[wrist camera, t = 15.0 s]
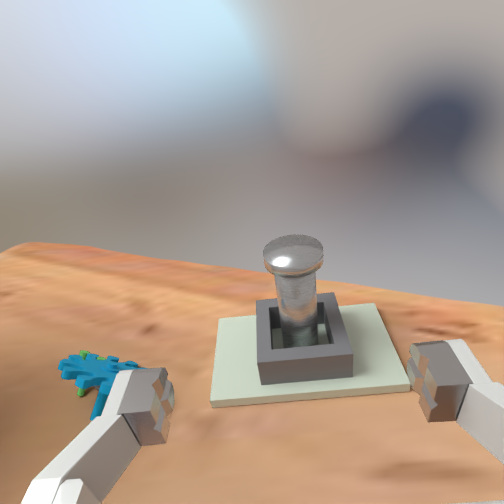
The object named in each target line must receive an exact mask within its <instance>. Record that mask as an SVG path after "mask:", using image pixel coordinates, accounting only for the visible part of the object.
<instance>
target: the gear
mask: <svg viewBox="0 0 504 504" xmlns="http://www.w3.org/2000/svg"><path fill="white" fill-rule="evenodd" d="M118 361H119V358H117V357H113V356H108V358H107V359H106V358H103V357H99V355H96V354H90V352H88V351H84V350H82V351H80V354H79V355H69V358H68V359H63V360H61V361H60V363H59V366H58V370H61V371H63V372H62V375H61V377H62V379H66V380H71V379H76V382H75V385H76V386H77V387H79V389H78V392H77V395H78V396H84V393H85V390H86V389H87V388H89V387H91V386H93V387H95V388H96V389H97V390H98V391H99V393H98V396H97V399H96V402H95V405H94V408H93V411H92V415H91V418H90V420H91V421H93V420H94V419H95V418H96V417H98V416H101V415H102V412H103V409H104V407H105V404H106V401H107V398H108V395H109V393H110V391H111V388H112V386H113V383H114V380H115V378H116V375H117V374H118V373H119V371H123V370H134V369H149V368H137V366H138V364H137V363H135V362H133V361H127V362H123V363H118Z"/></svg>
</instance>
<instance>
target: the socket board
mask: <svg viewBox="0 0 504 504" xmlns="http://www.w3.org/2000/svg"><path fill="white" fill-rule="evenodd" d="M316 295H317V316H318V337H319V345H315V346H304V347H294V348H284V347H283V339H282V331H281V323H280V315H279V307H278V299H277V298H275V299H266V300H256V315H250V316H240V317H230V318H221V319H219V325H218V334H217V343H216V352H215V360H214V369H213V378H212V387H211V396H210V403H211V406H212V408H216V407H228V406H240V405H252V404H264V403H276V402H288V401H300V400H312V399H324V398H335V397H347V396H359V395H371V394H383V393H395V392H407V391H410V386H411V384H410V382H409V379H408V376H407V374H406V372H405V370H404V367H403V365H402V363H401V361H400V359H399V356H398V354H397V352H396V350H395V348H394V345H393V343H392V341H391V339H390V337H389V334H388V332H387V330H386V328H385V326H384V323H383V321H382V319H381V317H380V315H379V312H378V310H377V308H376V306H375V303H367V304H357V305H347V306H338V304H337V301H336V297H335V294H334V292H332V293H323V294H316Z"/></svg>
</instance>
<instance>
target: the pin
mask: <svg viewBox="0 0 504 504" xmlns="http://www.w3.org/2000/svg"><path fill="white" fill-rule="evenodd" d="M263 256H264V263H265V267H266V269H267V270H268V271H269V272H270V273H272V274H274V276H275V284H276V291H277V299H278V307H279V315H280V323H281V331H282V339H283V347H284V348H294V347H304V346H315V345H319V337H318V316H317V295H316V277H315V272H316V271H317V270H318V269H319V268H320V267H321V265H322V264H323V246H322V244H321V243H320V242H319V241H318V240H317V239H315V238H312V237H310V236H305V235H287V236H283V237H279V238H277V239H275V240H273V241H271V242H270V243H268V244H267V245H266V246H265V248H264V250H263Z"/></svg>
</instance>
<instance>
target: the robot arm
mask: <svg viewBox="0 0 504 504" xmlns="http://www.w3.org/2000/svg"><path fill="white" fill-rule="evenodd" d="M409 352H410V354H411V356H412V357H411V358H410V359H409V360H408V362H407V374H408V378H409V382H410V384H411V386H412V389H413V390H414V391H415V392H417V393H418V394H419V395H420V399H419V404H420V406H421V409H422V411H423V413H424V415H425V417H426V419H427V421H428V422H444V421H456V423H458V424H459V425H460V426H461V427H462V428H463V429H464V430H465V431H467V432H468V433H469V434H470V435H471V436H472V437H473V438H474V439H476V440H477V441H478V442H479V443H480V444H481V445H482V446H483V447H485V448H486V449H487V450H488V451H489V452H490V453H491V454H492V455H494V456H495V457H496V458H497V459H498V460H499V461H500V462H501V463H503V464H504V385H502V384H500V383H499V382H492V380H491V379H490V377H489V376H488V374H487V373H486V371H485V370H484V369H483V367H482V366H481V364H480V363H479V361H478V360H477V359H476V357H475V356H474V354H473V353H472V351H471V350H470V349H469V347H468V346H467V344H466V343H465V341H463V340H462V339H455V340H445V341H443V340H441V341H432V342H422V343H413V344H412V345H411V346H410V351H409ZM167 376H168V373H167V371H166V369H165V368H149V369H134V370H123V371H119V373H118V374H117V375H116V378H115V380H114V383H113V386H112V388H111V391H110V393H109V396H108V399H107V401H106V404H105V407H104V409H103V412H102V415H101V416H98V417H96V418H95V419H94V420H93V421H92V422H91V423H90V424H89V425H88V426H87V427H86V428H85V429H84V430H83V431H82V432H81V433H80V434H79V435H78V436H77V437H76V438H75V439H74V440H73V441H71V442H70V443H69V444H68V445H67V446H66V447H65V448H64V449H63V450H62V451H61V452H60V453H59V454H58V455H57V456H56V457H55V458H54V459H53V460H52V461H51V462H50V463H49V464H48V465H47V466H46V467H45V468H44V469H43V470H42V471H41V472H40V473H39V474H38V475H37V476H36V477H35V478H34V479H33V480H32V482H31V484H30V486H29V488H28V490H27V492H26V494H25V496H24V498H23V500H22V503H21V504H101V503H102V501H103V500H104V499H105V497H106V496H107V494H108V493H109V492H110V490H111V489H112V488H113V486H114V485H115V483H116V482H117V481H118V479H119V478H120V476H121V475H122V474H123V472H124V471H125V469H126V468H127V467H128V465H129V464H130V462H131V461H132V460H133V458H134V457H135V455H136V454H137V453H138V451H139V450H140V448H141V447H140V446H147V445H156V444H165V443H166V442H167V437H168V432H169V427H170V422H169V420H168V415H169V414H170V413H171V412H172V411H173V405H174V389H173V385H172V383H171V382H170V381H169V380H167ZM451 504H504V500H496V501H481V502H466V503H451Z"/></svg>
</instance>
